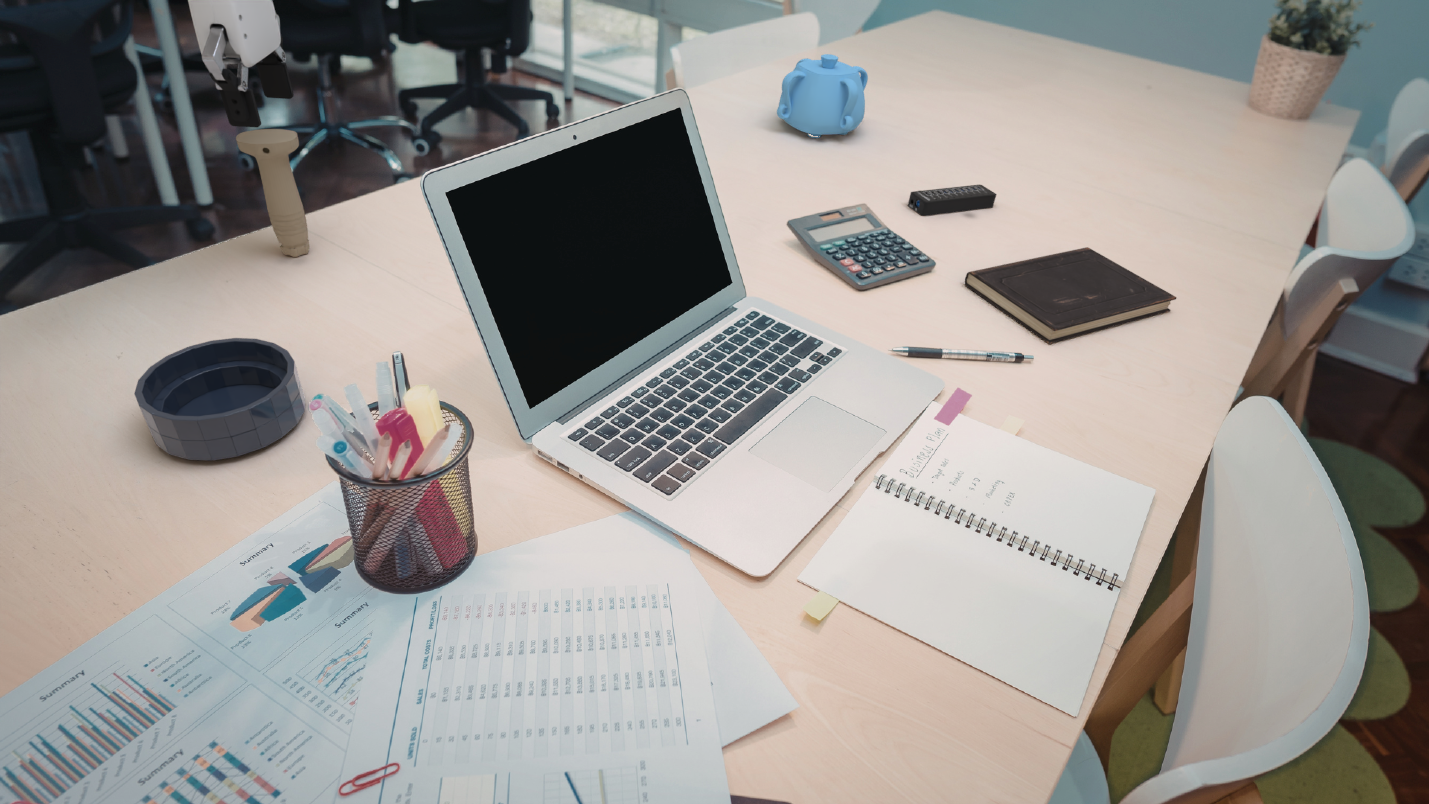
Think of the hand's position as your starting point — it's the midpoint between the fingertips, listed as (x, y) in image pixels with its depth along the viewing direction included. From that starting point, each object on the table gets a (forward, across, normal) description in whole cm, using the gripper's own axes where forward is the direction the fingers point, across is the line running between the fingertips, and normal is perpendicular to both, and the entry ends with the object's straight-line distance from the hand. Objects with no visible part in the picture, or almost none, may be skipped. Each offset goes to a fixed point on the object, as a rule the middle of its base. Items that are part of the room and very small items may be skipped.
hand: (263, 111), depth 93 cm
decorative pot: (+19, -61, +77) cm, 100 cm away
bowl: (+18, +34, +6) cm, 39 cm away
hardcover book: (+19, +2, +102) cm, 103 cm away
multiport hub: (+19, -27, +94) cm, 99 cm away
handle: (+18, 0, 0) cm, 18 cm away
